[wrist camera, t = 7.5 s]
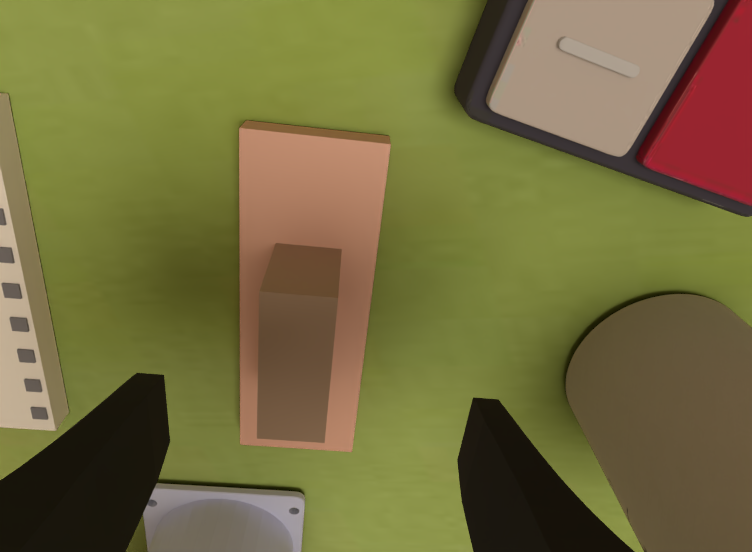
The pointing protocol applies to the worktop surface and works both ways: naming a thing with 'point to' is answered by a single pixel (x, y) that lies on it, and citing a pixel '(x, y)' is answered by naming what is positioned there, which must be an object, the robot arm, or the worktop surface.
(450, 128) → the worktop surface
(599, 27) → the calculator
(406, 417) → the worktop surface
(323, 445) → the pink block with handle
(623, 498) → the travel mug
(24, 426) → the cream notepad
